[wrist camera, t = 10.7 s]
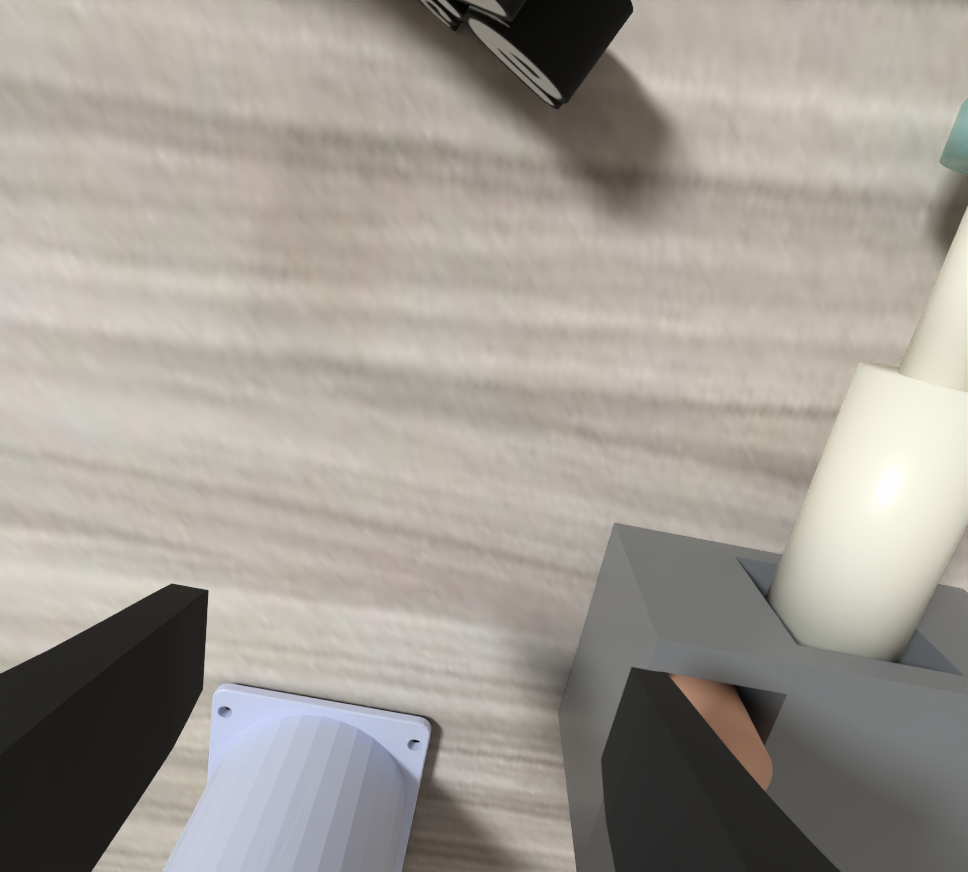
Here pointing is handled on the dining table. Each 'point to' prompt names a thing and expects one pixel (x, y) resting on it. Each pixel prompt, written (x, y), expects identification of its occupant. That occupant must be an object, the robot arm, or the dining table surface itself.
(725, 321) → the dining table surface
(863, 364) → the push handle
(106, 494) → the dining table surface
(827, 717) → the housing
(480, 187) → the dining table surface
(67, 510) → the dining table surface
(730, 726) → the plunger
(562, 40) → the logo
